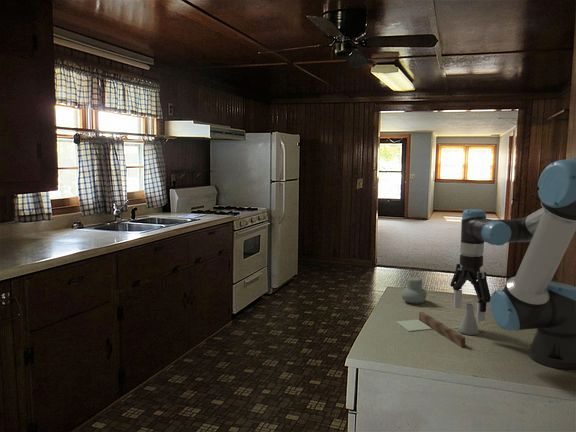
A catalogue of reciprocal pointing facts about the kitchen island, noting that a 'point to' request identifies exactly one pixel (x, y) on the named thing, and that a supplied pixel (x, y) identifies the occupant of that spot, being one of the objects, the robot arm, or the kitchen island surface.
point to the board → (413, 325)
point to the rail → (442, 329)
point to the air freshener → (414, 291)
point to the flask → (469, 321)
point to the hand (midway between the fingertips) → (468, 314)
